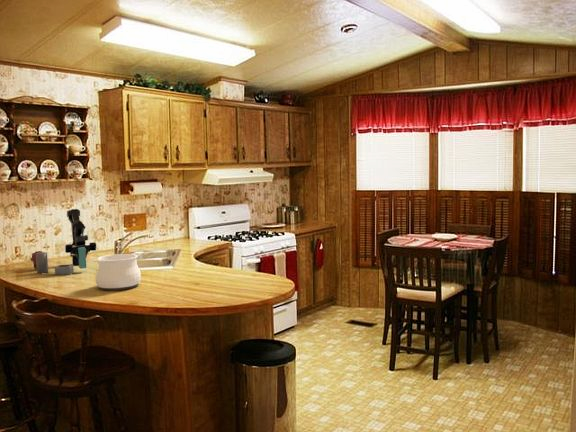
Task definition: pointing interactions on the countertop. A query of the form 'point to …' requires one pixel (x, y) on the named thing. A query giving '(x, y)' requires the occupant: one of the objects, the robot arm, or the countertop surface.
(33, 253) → the mechanical component
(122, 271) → the pot
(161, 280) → the countertop surface
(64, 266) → the block
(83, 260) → the square bit
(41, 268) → the round bit
